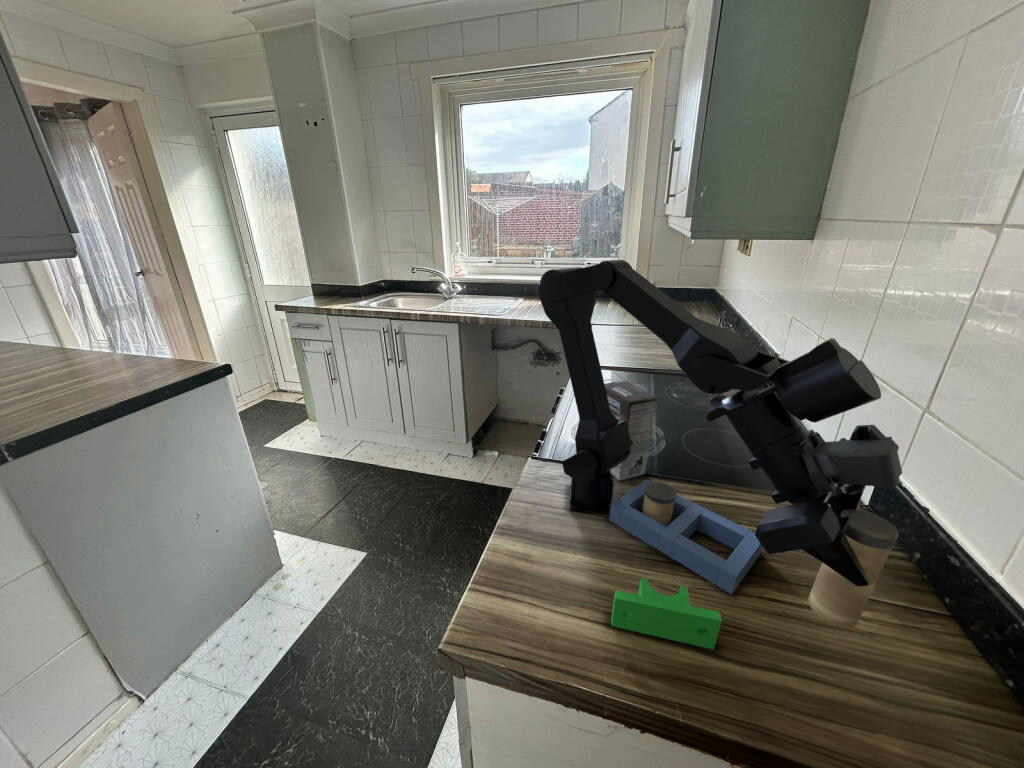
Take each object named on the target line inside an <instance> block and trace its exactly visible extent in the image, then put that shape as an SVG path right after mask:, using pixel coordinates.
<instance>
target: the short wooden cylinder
mask: <svg viewBox="0 0 1024 768" xmlns="http://www.w3.org/2000/svg"><path fill="white" fill-rule="evenodd" d="M676 494H677V492H676V489H674V487H672V486H670V485H669V484H667V483H663V482H659V481H656V482H655V481H654V482H652V483H649V484H648V485H647V486H646V488H645V497H644V503H643V508H642V509H641V513H643V514H645V515H646V516H648V517H650V518H652V519H654V520H655V521H657V522H659V523H661V524H663V525H664V526H666V527H668V526H669V525H670V524H671V523H672V518H673V517H672V513H673V508H674V503H675V499H676Z"/></svg>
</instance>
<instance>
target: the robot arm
mask: <svg viewBox="0 0 1024 768" xmlns="http://www.w3.org/2000/svg"><path fill="white" fill-rule="evenodd" d="M600 293H605V294H606V295H607V296H608V297H609V298H610V299H611V300H612V301H614V302H615V303H616V304H618V305H619V306H620V307H621V308H623V310H625V311H626V312H627V313H628V314H630V315H631V316H632V317H633V318H634V319H635V320H637V321H638V322H639V323H640V324H641V325H642V326H644V328H646V329H647V330H648V331H650V332H651V333H652V334H653V335H654V336H656V337H657V338H658V339H659V340H661V341H662V343H664V344H665V345H666V346H667V348H668V349H670V351H671V354H673V358H674V359H675V362H676V365H677V366H678V367H679V369H680V370H681V371H682V372H683V373H684V375H686V377H687V378H688V379H689V380H690V381H691V383H692V385H694V386H695V387H696V388H697V389H699V390H700V391H702V392H703V393H705V394H713V397H711V398H710V399H709V403H710V404H709V408H708V411H707V414H706V417H705V419H706V421H708V422H713V421H715V420H717V419H720V418H721V417H723V416H726V418H727V419H728V420H729V422H730V424H731V425H732V426H733V428H734V430H735V431H736V433H737V434H738V435H739V437H740V438H741V440H742V441H743V443H744V444H745V445H746V447H747V449H748V450H749V452H750V454H751V455H752V456H753V457H751V459H749V460H748V461H747V463H748V464H749V466H750V467H751V469H752V470H753V471H754V470H758V469H761V470H762V471H763V473H764V475H766V477H767V479H768V480H769V482H770V484H771V485H772V487H773V488H774V491H773V492H772V493H771V494H770V497H771V498H772V500H773V502H774V503H775V504H776V505H777V504H781V503H786V502H788V503H789V504H787V505H783V506H779V507H775V508H771V509H768V510H767V512H766V513H765V515H764V516H763V517H762V518H761V520H760V521H759V522H758V523H757V526H756V529H755V531H754V532H755V536H756V537H757V539H758V541H759V542H760V544H761V545H762V549H763V550H764V552H766V554H768V555H774V554H780V553H786V552H787V553H789V552H793V551H800V550H801V551H803V552H805V553H806V554H807V555H810V556H811V557H813V558H815V559H816V560H818V561H819V562H821V564H822V563H824V564H825V565H827V566H828V567H830V568H831V569H833V570H834V571H835V572H837V573H838V574H840V575H841V576H843V577H844V578H846V579H847V580H849V581H850V582H851V583H853V584H854V585H856V586H868V585H869V581H868V579H867V577H866V574H865V572H864V570H863V568H862V566H861V564H860V562H859V561H858V559H857V557H856V555H855V553H854V551H853V549H852V547H851V545H850V544H849V542H848V540H847V538H846V536H845V531H846V529H847V526H848V523H849V521H850V516H848V517H842V518H839V515H840V513H841V512H842V511H843V510H846V509H857V510H861V507H860V502H861V499H862V496H863V494H864V492H865V490H866V487H874V488H876V489H892V488H896V487H897V486H899V483H900V478H901V475H903V468H902V465H901V461H900V456H899V453H898V452H899V450H900V446H899V445H898V444H897V443H896V441H895V440H893V437H892V436H886V435H885V434H884V433H883V432H882V431H881V430H880V429H879V428H878V427H877V426H876V425H875V424H860V425H856V426H855V427H854V429H853V431H852V433H851V436H850V437H849V439H847V438H846V437H842V438H840V439H839V440H835V441H826V440H825V439H824V438H823V437H822V435H821V434H820V433H819V432H818V431H816V432H815V431H814V429H810V430H807V431H806V430H805V429H804V427H803V426H802V425H801V424H800V422H799V421H804V420H807V421H809V422H810V423H818V422H822V421H824V420H826V419H829V418H832V417H835V416H837V415H840V414H842V413H845V412H848V411H851V410H853V409H856V408H859V407H861V406H864V405H867V404H869V403H872V402H876V401H878V400H880V399H881V398H882V391H881V389H880V386H879V384H878V382H877V379H876V378H875V376H874V375H873V373H872V372H871V370H870V369H869V368H868V366H867V365H866V364H865V362H864V360H862V359H858V358H857V357H856V356H855V355H854V354H853V353H851V352H850V351H849V350H848V349H846V348H845V347H842V346H841V345H840V344H839V342H838V341H837V340H836V339H835V338H832V337H831V338H829V339H826V340H825V341H823V342H821V343H819V344H818V345H816V346H815V347H813V348H812V349H811V350H809V351H808V352H805V353H804V354H802V355H799V356H798V357H797V356H796V357H795V358H794V359H791V360H787V359H784V358H782V357H778V356H776V355H772V354H770V353H766V352H763V351H760V350H758V349H757V348H756V346H755V345H754V344H753V343H752V342H751V341H749V340H748V339H746V338H744V337H743V336H740V335H739V334H737V333H734V332H732V331H730V330H729V329H727V328H725V327H722V326H719V325H716V324H713V323H711V322H708V321H704V320H702V319H701V318H700V317H699V318H698V317H697V316H695V315H694V314H692V313H691V312H690V311H688V309H686V308H684V307H683V306H682V305H681V304H679V302H677V301H675V299H673V298H672V297H670V296H669V295H668V294H666V293H665V292H664V291H662V290H661V289H660V288H659V287H658V286H656V285H655V284H654V283H653V282H651V281H650V280H648V279H647V278H646V277H644V276H643V275H642V274H640V273H639V272H638V271H636V270H635V269H634V268H633V267H632V265H631V264H630V263H629V262H627V261H626V260H624V259H611V260H603V261H600V262H598V263H596V264H593V265H590V266H585V267H581V266H573V267H564V268H552V269H548V270H546V271H545V272H544V273H542V276H541V277H540V280H539V282H538V283H537V295H538V298H539V300H540V303H541V306H542V309H543V311H544V315H545V316H546V317H547V318H548V319H549V320H550V322H551V323H552V324H553V325H554V327H556V328H557V330H558V333H559V336H560V340H561V345H562V349H563V354H564V357H565V362H566V366H567V370H568V375H569V380H570V384H571V388H572V391H573V396H574V401H575V405H576V409H577V414H578V426H577V429H576V432H575V437H574V443H575V444H574V445H575V454H573V455H571V456H570V457H567V458H565V459H564V460H562V461H561V464H562V468H563V469H562V470H563V473H564V474H565V475H566V476H568V477H569V478H570V485H569V496H568V497H569V499H568V509H569V510H570V511H574V512H584V513H593V514H602V515H609V514H610V505H612V504H613V503H612V502H613V495H614V487H615V484H614V483H615V482H614V475H612V474H611V472H610V470H611V469H612V468H614V467H616V466H618V465H619V464H620V463H622V462H623V461H625V460H626V459H627V458H628V456H629V455H630V452H631V447H630V446H631V445H633V442H632V440H631V438H630V435H629V428H628V423H627V421H626V420H624V421H620V422H619V421H618V419H617V418H616V417H615V416H614V415H613V414H612V413H611V410H610V406H609V402H608V398H607V393H606V389H605V384H606V383H605V380H604V377H603V376H604V375H603V372H602V368H601V363H600V358H599V354H598V350H597V345H596V340H595V336H594V331H593V327H592V318H593V314H594V310H595V306H596V295H597V294H600ZM770 382H772V383H773V384H772V385H769V386H768V387H765V388H762V389H760V390H759V388H761V387H763V386H765V385H767V384H768V383H770ZM732 390H736V391H737V392H735V393H733V394H730V395H723V394H725V393H727V392H730V391H732Z"/></svg>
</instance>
